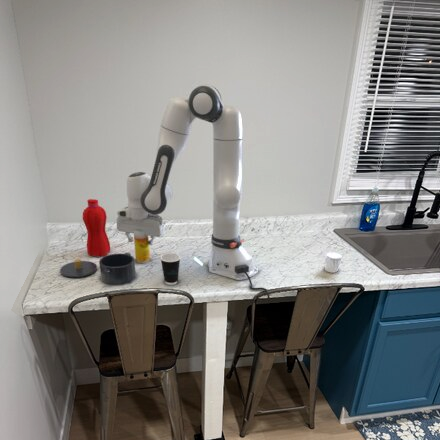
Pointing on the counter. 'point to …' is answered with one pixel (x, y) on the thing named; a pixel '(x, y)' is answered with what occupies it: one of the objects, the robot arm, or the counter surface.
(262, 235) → the counter surface
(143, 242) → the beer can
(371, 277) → the counter surface
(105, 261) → the pot
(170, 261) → the dixie cup
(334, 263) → the white cylinder
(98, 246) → the water bottle
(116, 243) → the counter surface
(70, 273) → the pot lid
